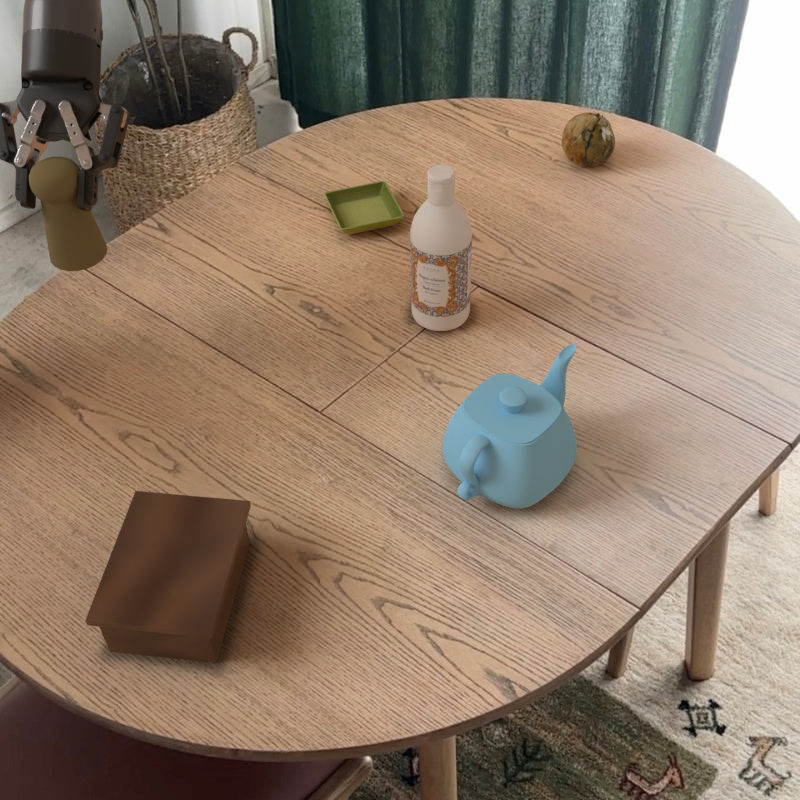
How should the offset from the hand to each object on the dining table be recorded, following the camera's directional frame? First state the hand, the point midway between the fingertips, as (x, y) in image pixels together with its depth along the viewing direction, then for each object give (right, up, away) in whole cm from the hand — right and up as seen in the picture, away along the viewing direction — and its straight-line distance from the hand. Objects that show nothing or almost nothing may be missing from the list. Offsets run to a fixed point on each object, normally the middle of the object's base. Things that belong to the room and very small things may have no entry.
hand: (56, 207), depth 106 cm
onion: (+61, +14, +42) cm, 75 cm away
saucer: (+30, +5, +34) cm, 45 cm away
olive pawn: (0, -4, +7) cm, 8 cm away
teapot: (+46, -26, +4) cm, 53 cm away
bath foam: (+39, -9, +21) cm, 45 cm away
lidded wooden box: (+14, -38, -6) cm, 41 cm away
